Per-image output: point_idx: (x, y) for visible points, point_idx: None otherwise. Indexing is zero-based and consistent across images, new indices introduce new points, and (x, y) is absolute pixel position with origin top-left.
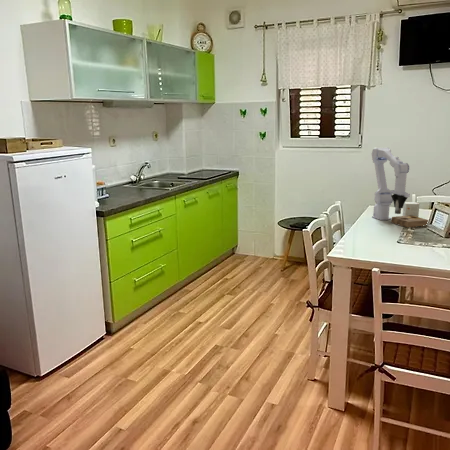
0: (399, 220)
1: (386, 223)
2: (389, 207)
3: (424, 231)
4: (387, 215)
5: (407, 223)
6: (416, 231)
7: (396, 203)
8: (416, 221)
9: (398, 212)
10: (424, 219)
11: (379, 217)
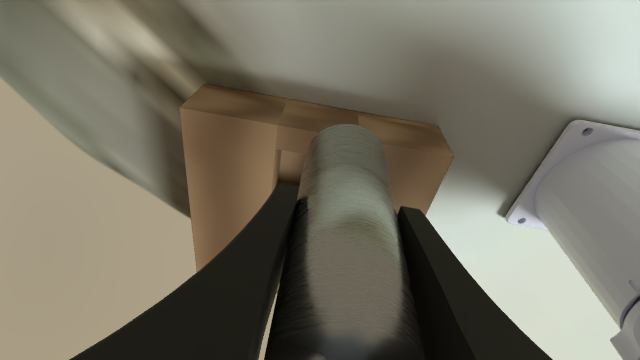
0: (321, 126)
1: (452, 54)
2: (601, 302)
3: (49, 101)
4: (553, 209)
5: (193, 101)
6: (51, 37)
7: (347, 240)
8: (190, 195)
9: (311, 150)
10: None
11: (620, 144)
